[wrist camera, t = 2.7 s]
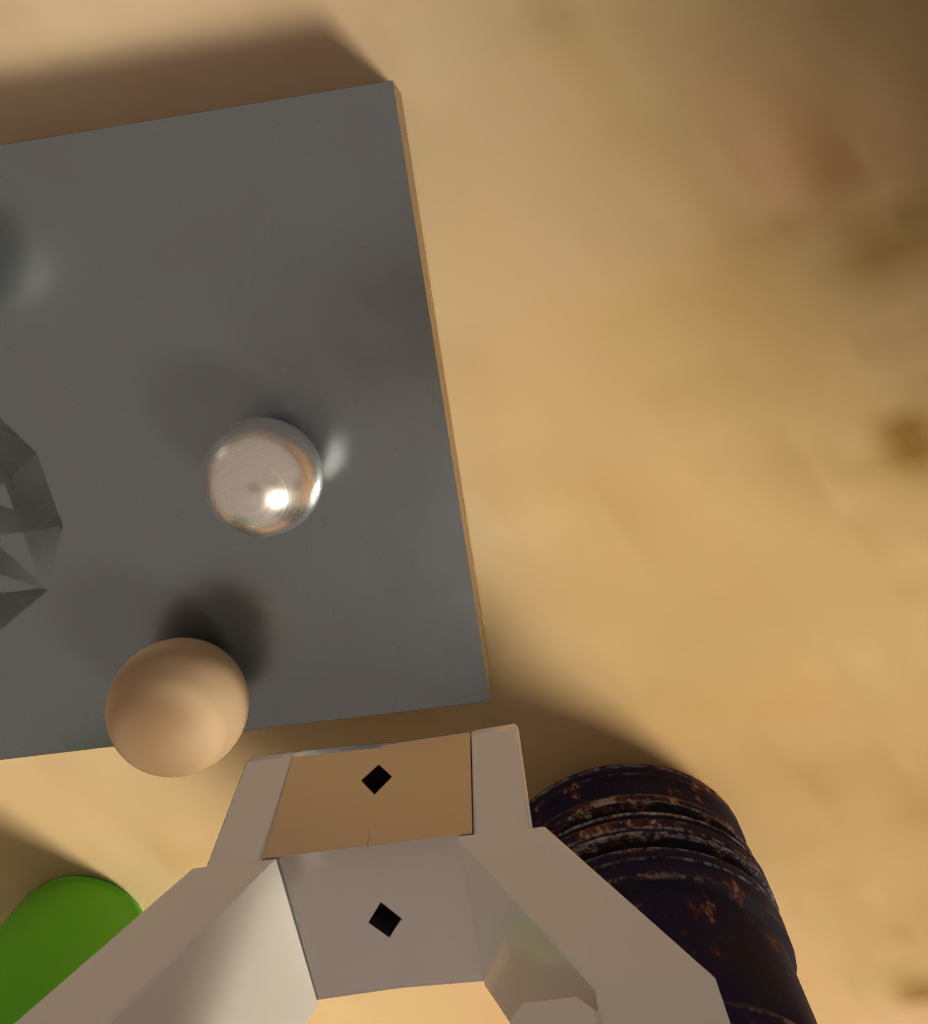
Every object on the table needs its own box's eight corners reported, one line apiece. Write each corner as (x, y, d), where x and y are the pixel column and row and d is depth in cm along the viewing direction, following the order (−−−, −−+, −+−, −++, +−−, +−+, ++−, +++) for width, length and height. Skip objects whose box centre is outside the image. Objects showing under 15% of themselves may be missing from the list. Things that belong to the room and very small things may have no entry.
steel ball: (318, 396, 22) (296, 427, 19) (341, 503, 23) (323, 547, 20) (207, 413, 22) (167, 445, 19) (235, 518, 23) (202, 563, 20)
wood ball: (246, 605, 25) (206, 678, 21) (275, 713, 26) (243, 799, 22) (121, 622, 25) (59, 696, 21) (157, 728, 26) (105, 815, 22)
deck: (400, 93, 22) (392, 80, 19) (488, 659, 28) (490, 700, 26) (-353, 217, 23) (-446, 219, 21) (-103, 732, 29) (-153, 778, 27)
